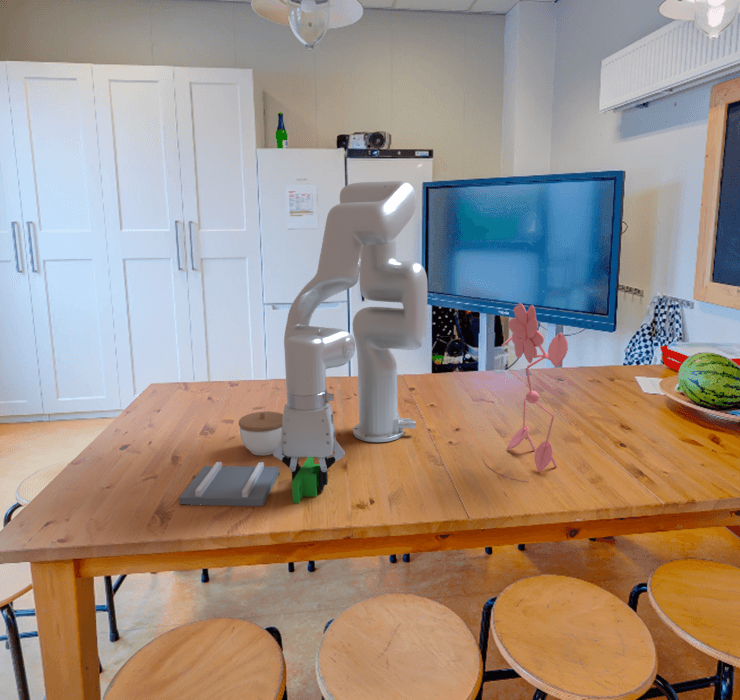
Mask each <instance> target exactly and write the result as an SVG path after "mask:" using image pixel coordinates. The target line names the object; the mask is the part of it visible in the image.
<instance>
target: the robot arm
mask: <svg viewBox="0 0 740 700" xmlns="http://www.w3.org/2000/svg"><path fill="white" fill-rule="evenodd" d="M416 208H417V195H416V191H415V188H414V187H413V186H412V184H410V183H409V182H407V181H403V180H391V181H389V180H388V181H361V182H355V183H354V182H352V183H350V184H346V185H345V186H343V187H342V189H341V190H340V194H339V204H336V205H334V206H332V207H331V208H330V210H329V211H328V214H327V217H326V221H325V226H324V232H323V237H322V243H321V247H320V248H321V249H320V254H319V260H318V267H317V270H316V274H315V275H314V276H313V278H312V279H310V280H309V282H307V283H306V285H304V287H303V288H302V289H301V290H300V292H299V293H298V295H297V296H296V297H295V299H294V300H293V301H292V304H291V305H290V307H289V308H290V309H289V311H288V314H287V319H286V325H285V328H284V329H285V330H284V338H283V346H284V363H285V364H284V365H285V366H284V367H285V369H284V370H285V382H286V383H285V386H286V387H285V388H286V389H285V390H286V404H285V405H284V407H283V412H282V414H283V418H282V437H281V442H280V443H279V445H278V446H277V448H276V449H275V451H274V453H273V454H272V455H273V457H274V458H276V459H277V460H280V461H282V463H283V464H284V465H285V466H286V467H288V469H289V471H290V472H291V482H292V481H293V479H294V478H295V476H296V475H297V473H298V472H299V470H300V469H301V467H302V466H301V465H300V464H299V461H300V458H308V457H312V458H314V459H315V458H316V459H318V462H319V463H318V464H320V470H319V486H318V489H319V491H321V492H323V491H324V489H325V486H328V483H329V481H328V478H329V477H328V470H329V468H331V466H333V465H334V464H335V463H336V462H337V461H340V460H341V459H343V458H344V457H345V453H346V452H345V450H344V449H343V448H342V446H341V445H340V443H339V442H338V440H337V439H336V427H335V420H334V414H333V408H332V405H331V403H329V402H333V401H334V400H335V394H334V393H331V392H329V391H328V388H327V375H326V371H327V369H328V370H329V369H333V368H339V367H342V366H345V365H346V364H347V363H349V362H350V360H352V358H353V357H354V354H355V351H356V357H357V382H358V383H357V385H358V386H357V390H358V423H357V424H356V425H354V427H353V428H352V435H353V436H354V437H355V438H356V439H358V440H360V441H364V442H369V443H386V442H392V441H395V440H398V439H399V438H401V437H403V435H404V432H405V431H404V430H405V429H416V425H417V422H416V421H417V420H411V417H406V418H405V417H401V416H400V413H399V412H398V363H397V360H396V358H395V356H394V354H393V352H392V350H391V349H393V350H394V349H395V350H402V351H416V350H419V349H420V348H421V347H422V346H423V345H424V344H425V340H426V335H427V327H428V326H427V323H428V322H427V321H428V319H427V318H428V276H427V272H426V269H425V267H424V266H423V265H422V264H420V262H416V261H413V260H412V261H409V260H397V239H396V238H397V237H398V236H399V234H400V233H401V232H402V230H403V229H404V228H405V227H406V226H407V224H408V223H409V221H410V220H411V219H412V217H413V215H414V213H415V210H416ZM358 281H359V291H360V295H361V296H362V297H363V299H366V300H368V301H372V302H382V303H383V302H385V303H401V304H402V307H403V308H400V307H399V308H397V307H395V308H394V307H385V306H369V307H368V306H367V307H363V308H362V309H359V310H358V311H357V312H356V313H355V315H354V316H353V318H352V320H353V321H352V332H353V335H352V334H351V333H350V332H349V331H347V330H345V329H342V328H341V329H340V328H334V327H325V326H324V327H323V326H310V322H311V318H312V316H313V315H314V312H315V311H316V309H317V308H318V307H319V306H320V305H321V304H322V303H323V302H325V301H326V300H328V299H329V298H331V297H333V296H335V295H338V294H341V293H342V292H344V291H346V290H349V289H351V288H353V287H355V285H357V283H358Z"/></svg>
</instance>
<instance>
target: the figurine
mask: <svg viewBox="0 0 740 700" xmlns="http://www.w3.org/2000/svg"><path fill="white" fill-rule="evenodd" d="M536 312H537V311H536V308H535V306H534V305H533V304H531V305H529V307H528V309H527V310H526V307H525V306H524V305H523V303H521V302H518V305H516V306H515V307H513V313H514V317H515V318H514V317H513V318H511V319H509V321H508V324H507V326H508V328H509V330H510V331H511V332H512V335H511V336H510V337H508V338H507V340H505V342H503V343H502V344H501V347H504V346H505V345H506V344H508V343H509V342H510V341H511V342H512V344H514V346H513V347H514V353H515V356H516V358H518V359H520V358H521V357H522V355H523V354H524V357H525V360H526V361H527V362H528V365H527V366H526V368H525V372H526V378H527V384H528V388H529V391H528V392H527V393H526V395H525V398H524V399H523V415H522V416H523V417H522V419H523V420H522V421H523V422H522V423H523V424H522V427H521V428H519V429H518V431H516V432H515V434H514V435H513V436H512V437H511V440H510V441H509V443H508V446H507V447H506V450H512V449H514V448H516V447H517V446H519V445H520V444H521V443H522V442H523V441H524V440H525V439H526V438H527V441H528V442H529V444H530V446H531V448H532V450H533V452H534V463H535V467H536V469H537V471H538V473H541V472H542V471H544V470H545V468H546V467H547V466H549V464H550V463H551V462H552V464H553V467H554V468H557V467H558V465H557V463H556V460H555V459H554V456H553V453H554V452H553V445H552V443H550V442H549V438H550V434H551V431H552V426H553V422H554V419H555V415H554V414H553V413H551V411H549V410H548V409H547V408H545V407H544V406H543V405H541V404H540V403H539V402H538V401H539V398H540V396H539V393H538V392H537V391H536V390H532V386H531V385H532V383H531V379H530V378H531V377H530V371H529V368H531V367H533V366H535V365H536V364H538V363H540V362H541V361H543V360H544V359H545V360H549V361H550V363H551V364H552V365H553V366H554V367H555V368H557V367H558V366H560V367H563V361H564V359H565V358H566V355H567V353H568V350H569V343H568V340H567V337H566V336H565V335H563V334H564V333H562V332H558V333H557V335H555V336H554V337H553V338H552V339H551V341H550V342H549V344H548V349H547V352H545V350H544V349H543V347H542V345H543V344H544V336H543V334H542V333H541V332H540V331H538V327H539V323H538V322H539V321H538V320H537V313H536ZM537 347H538V348H539V349H540V351H541V354H538V351H537V350H538V349H537ZM536 358H538V359H536ZM533 359H536V360H533ZM526 401H527V402H528V403H529V404H536V405H537V406H539V408H541V409H542V410H543V411H545V412H546V413H548V414H549V415H550V416H551V419H550V425H549V428H548V431H547V436H546V439H545V441H543V442H541V443H540V444H539V445H538V447H537V448H535V445H534V443H533V441H532V440H531V437H530V435H529V429H530V428H529V426H528V425H527V426H526ZM483 462H484V464H486V462H485V461H484V459H483ZM484 467H485V468H487V469H488V468H489V469H490V470H491V471H493V472H494V473H496V474H498V475H500V476H501V477H503V479H510V480H515V481H518V482H522V483H529V481H525V480H520V479H516V478H512V477H509V476H506V475H503V474H501V473H498V472H497V471H495V470H493V469H492V468H490V467H489V466H488V465H485V466H484Z"/></svg>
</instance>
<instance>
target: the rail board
mask: <svg viewBox="0 0 740 700" xmlns="http://www.w3.org/2000/svg"><path fill="white" fill-rule="evenodd" d="M279 468H280V467H279V466H265V462H264V461H262V462H261V461H259V462H258V463H257V465H256V466H254V465H253V466H249V465H248V466H243V465H242V466H239V465H238V466H237V465H235V466H234V465H233V466H232V465H226V466H225V465H223V462H222V461H217V462H215V464H214V465H204V466H203V467H202V468H201V470H200V471H199V472H198V473H197V475H196V476H195V477H194V478H193V479H192V481H191V482H190V483H189V485H188V486H187V487H186V488H185V490H184V491H183V492H182V493H181V494H180V496H179V497H178V500H179V501H178V502H179V505H180V504H187V505H186V506H215V505H221V506H220V507H224V505H225V506H226V505H227V506H226V507H228V506H229V507H231V506H232V507H233V506H234V507H264V505H265V503H266V501H267V499H268V497H269V496H270V493H271V491H272V490H273V489H272V488H273V487H274V485H275V482H276V480H277V479H278V476H279V474H280V469H279ZM188 504H190V505H188ZM191 504H192V505H191ZM195 504H196V505H195ZM197 504H198V505H197ZM200 504H201V505H200ZM222 505H223V506H222Z"/></svg>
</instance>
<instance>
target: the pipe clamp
mask: <svg viewBox="0 0 740 700" xmlns="http://www.w3.org/2000/svg"><path fill="white" fill-rule="evenodd" d="M314 459H315V458H312V457H306V459H305V461H304V462H303V465H302V466H300V467H301V469H300V470H299V472H298V473H297V475H296V476H295V478H294V479H293V481H292V480H291V489H292V490H291V492H292V503H293V504H300V502H301V500H302V499H303V497H311V496H313V498H317V495H318V488H317V486H318V487H319V470H320V463H315V462H314V461H315V460H314ZM301 498H302V499H301ZM299 501H300V502H299Z"/></svg>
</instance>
